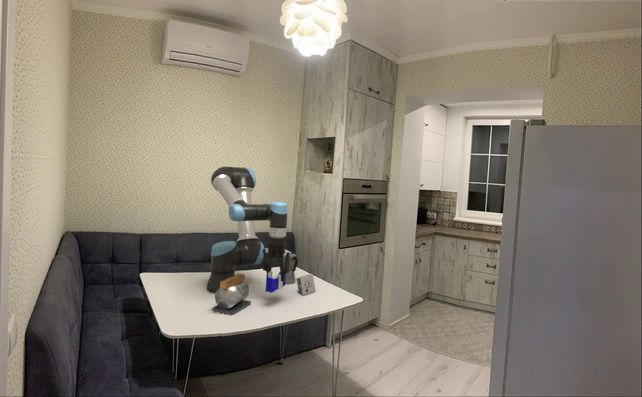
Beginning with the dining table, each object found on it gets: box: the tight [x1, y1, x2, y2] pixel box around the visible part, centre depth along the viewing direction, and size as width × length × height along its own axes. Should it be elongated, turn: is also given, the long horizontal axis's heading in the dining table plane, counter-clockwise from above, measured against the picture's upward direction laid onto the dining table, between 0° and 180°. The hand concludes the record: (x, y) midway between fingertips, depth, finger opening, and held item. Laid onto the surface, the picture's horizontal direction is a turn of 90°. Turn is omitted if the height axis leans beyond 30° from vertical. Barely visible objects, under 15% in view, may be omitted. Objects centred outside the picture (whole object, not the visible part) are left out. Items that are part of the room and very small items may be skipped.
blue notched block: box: [265, 271, 286, 294], centre depth 152 cm, size 12×4×6 cm, turn 156°
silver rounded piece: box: [211, 273, 252, 316], centre depth 144 cm, size 14×10×13 cm
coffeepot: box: [283, 249, 299, 285], centre depth 185 cm, size 15×9×18 cm, turn 39°
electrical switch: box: [296, 273, 316, 296], centre depth 169 cm, size 9×5×9 cm, turn 141°
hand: (274, 287), depth 152 cm, fingers closed on blue notched block, 5 cm apart
